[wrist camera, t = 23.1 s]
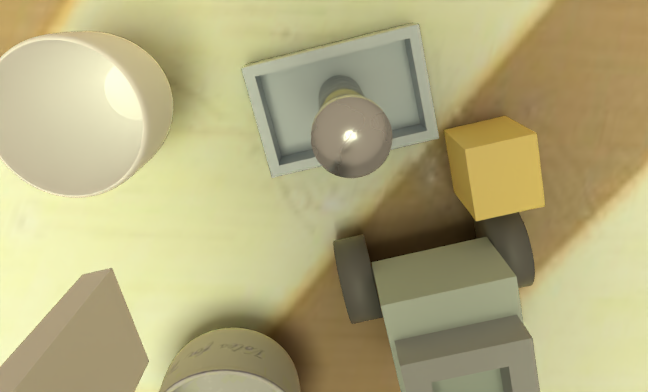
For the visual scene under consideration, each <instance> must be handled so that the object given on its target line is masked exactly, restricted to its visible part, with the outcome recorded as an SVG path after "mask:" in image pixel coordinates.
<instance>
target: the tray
mask: <svg viewBox="0 0 648 392" xmlns="http://www.w3.org/2000/svg"><path fill="white" fill-rule="evenodd" d="M241 70H242V73H243V77H244V80H245V84H246V88H247V91H248V95H249V98H250V102H251V105H252V109H253V112H254V116H255V119H256V123H257V127H258V130H259V134H260V137H261V141H262V144H263V148H264V151H265V155H266V159H267V162H268V166H269V169H270V173H271V176H272V178H273V177H278V176H282V175H286V174H290V173H294V172H299V171H303V170H307V169H311V168H316V167H320V166H322V165H321V164H320V163H319V162H318V160H317V159H316V157H315V155H314V153H313V150H312V146H311V128H312V123H313V120H314V118H315V116H316V114H317V113H318V111H319V100H318V96H319V91H320V88H321V86H322V85H323V84H324V82H325V81H327V80H328V79H329V78H331V77H334V76H338V75H342V76H347V77H350V78H352V79H353V80H355V81H356V82H357V84H358V85H359V87H360V88H361V90H362V92H363V94H364V95H365V97H366V98H369V99H370V100H372V101H374V102H375V103H376V104H377V105H378V106H379V107H380V108H381V109H382V110H383V111H384V113H385V114H386V116H387V118H388V119H389V122H390V124H391V128H392V134H393V140H392V146H391V150H392V149H396V148H400V147H405V146H409V145H413V144H417V143H422V142H426V141H430V140H434V139H439V134H438V128H437V123H436V117H435V111H434V106H433V100H432V95H431V89H430V84H429V78H428V72H427V67H426V61H425V56H424V50H423V44H422V39H421V33H420V28H419V24H415V23H409V24H405V25H401V26H397V27H393V28H389V29H385V30H381V31H377V32H373V33H369V34H365V35H361V36H357V37H353V38H349V39H345V40H341V41H337V42H333V43H329V44H325V45H321V46H317V47H313V48H309V49H305V50H301V51H297V52H293V53H289V54H285V55H281V56H277V57H273V58H269V59H265V60H261V61H257V62H253V63H249V64H246V65H245V66H244V67H242V68H241Z"/></svg>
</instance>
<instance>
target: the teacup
mask: <svg viewBox="0 0 648 392" xmlns="http://www.w3.org/2000/svg"><path fill="white" fill-rule="evenodd" d="M159 392H300V383H299V378H298V374H297V370H296V368H295V366H294V363H293V361H292V360H291V358H290V356H289V355H288V353H287V352H286V351H285V350H284V349H283V348H282V347H281V346H280V345H279V344H278V343H277V342H276V341H274V340H273V339H271V338H270V337H268V336H266V335H264V334H262V333H260V332H257V331H254V330H250V329H245V328H221V329H216V330H212V331H209V332H207V333H204V334H202V335H200V336H198V337H196V338H195V339H193V340H191V341H190V342H189V343H187V344H186V345H185V346H184V347H183V348H182V349H181V350H180V351H179V352H178V354H177V355H176V356H175V358H174V359H173V361H172V363H171V364H170V366H169V368H168V370H167V372H166V375H165V377H164V380H163V382H162V385H161V388H160V390H159Z"/></svg>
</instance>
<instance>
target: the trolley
mask: <svg viewBox="0 0 648 392" xmlns="http://www.w3.org/2000/svg"><path fill="white" fill-rule="evenodd" d="M474 226H475V234H476V239H473V240H469V241H465V242H460V243H456V244H451V245H447V246H442V247H438V248H433V249H429V250H424V251H420V252H415V253H411V254H406V255H402V256H397V257H393V258H388V259H384V260H379V261H375V262H370V258H369V254H368V250H367V246H366V241H365V237H364V234H362V235H358V236H353V237H349V238H344V239H340V240H336V241H333V245H334V253H335V259H336V264H337V270H338V274H339V279H340V284H341V288H342V292H343V297H344V301H345V304H346V308H347V312H348V315H349V318H350V321H351V323H352V324H355V323H359V322H364V321H368V320H373V319H378V318H382V317H384V322H385V326H386V330H387V334H388V339H389V343H390V347H391V351H392V356H393V360H394V364H395V368H396V373H397V377H398V381H399V385H400V390H401V392H540V388H539V381H538V374H537V367H536V360H535V353H534V346H533V339H532V337H531V335H530V334H529V332H528V331H527V329H526V328H525V326H524V324H523V317H522V310H521V304H520V297H519V290H518V288H521V287H525V286H530V285H532V284H533V282H534V276H535V269H534V259H533V253H532V249H531V244H530V241H529V237H528V234H527V231H526V228H525V226H524V223H523V221H522V218H521V216H520V214H519V212H516V213H512V214H507V215H503V216H498V217H494V218H489V219H485V220H480V221H475V219H474ZM371 263H372V267H371ZM375 283H376V284H375ZM376 286H377V288H376ZM377 291H378V293H377ZM378 295H379V297H378ZM379 300H380V302H379ZM380 304H381V306H380ZM381 309H382V311H381ZM382 313H383V316H382Z"/></svg>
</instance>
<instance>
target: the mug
mask: <svg viewBox="0 0 648 392" xmlns="http://www.w3.org/2000/svg"><path fill="white" fill-rule="evenodd" d="M172 118H173V96H172V91H171V88H170V84H169V82H168V79H167V77H166V75H165V73H164V72H163V70H162V68H161V67H160V66H159V64H158V63H157V62H156V61H155V60H154V58H153V57H152V56H151V55H150V54H148V53H147V52H146V51H145V50H144V49H142V48H141V47H139V46H138V45H136V44H135V43H133V42H131V41H129V40H127V39H124V38H122V37H119V36H116V35H113V34H109V33H104V32H95V31H77V32H64V33H53V34H46V35H41V36H37V37H33V38H30V39H27V40H25V41H23V42H21V43H19V44H17V45H15V46H14V47H12V48H11V49H9V50H8V51H7V52H6V53H4V54H3V55H2V56H1V57H0V159H1V160H2V161H3V162H4V164H5V165H6V166H7V167H8V168H9V169H10V170H11V171H12V172H13V173H14V174H16V175H17V176H18V177H19V178H21V179H22V180H23V181H25V182H26V183H28V184H30V185H32V186H33V187H35V188H37V189H40V190H42V191H44V192H47V193H50V194H54V195H58V196H63V197H75V198H78V197H90V196H95V195H99V194H102V193H105V192H107V191H110V190H112V189H114V188H116V187H118V186H119V185H121V184H122V183H124V182H125V181H126V180H128V179H129V178H130V177H131V176H133V175H134V174H135V173H136V172H137V171H138V170H139V169H140V168H142V167H143V166H144V165H145V164H146V163H147V162H148V161H149V160H150V159H151V158H152V157H153V156H154V155H155V154H156V153H157V151H158V150H159V149H160V147H161V146H162V144H163V143H164V141H165V139H166V137H167V135H168V133H169V130H170V127H171V123H172Z"/></svg>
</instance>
